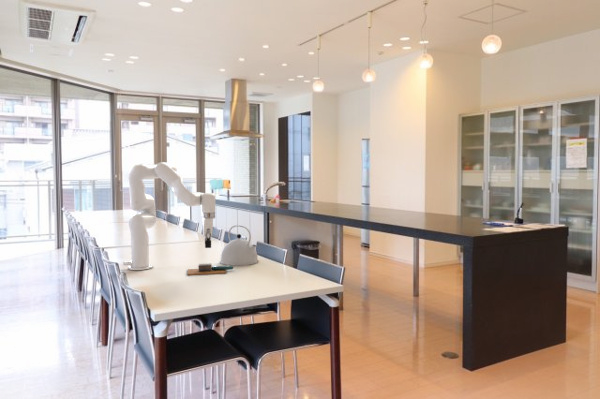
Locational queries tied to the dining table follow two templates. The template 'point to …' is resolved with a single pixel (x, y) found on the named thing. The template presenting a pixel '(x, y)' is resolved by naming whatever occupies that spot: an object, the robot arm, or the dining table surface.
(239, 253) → the kettle
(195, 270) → the cork mat
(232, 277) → the dining table surface
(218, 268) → the brush
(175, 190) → the robot arm
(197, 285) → the dining table surface
